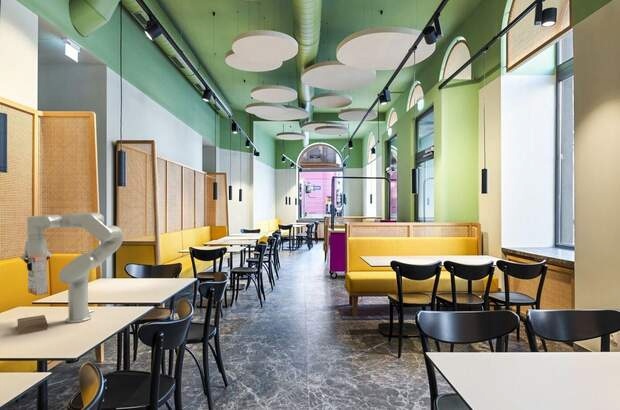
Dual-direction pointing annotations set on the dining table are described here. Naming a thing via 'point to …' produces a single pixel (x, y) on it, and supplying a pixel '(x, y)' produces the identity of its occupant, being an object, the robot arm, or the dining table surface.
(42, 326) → the walnut block
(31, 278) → the cracker box
